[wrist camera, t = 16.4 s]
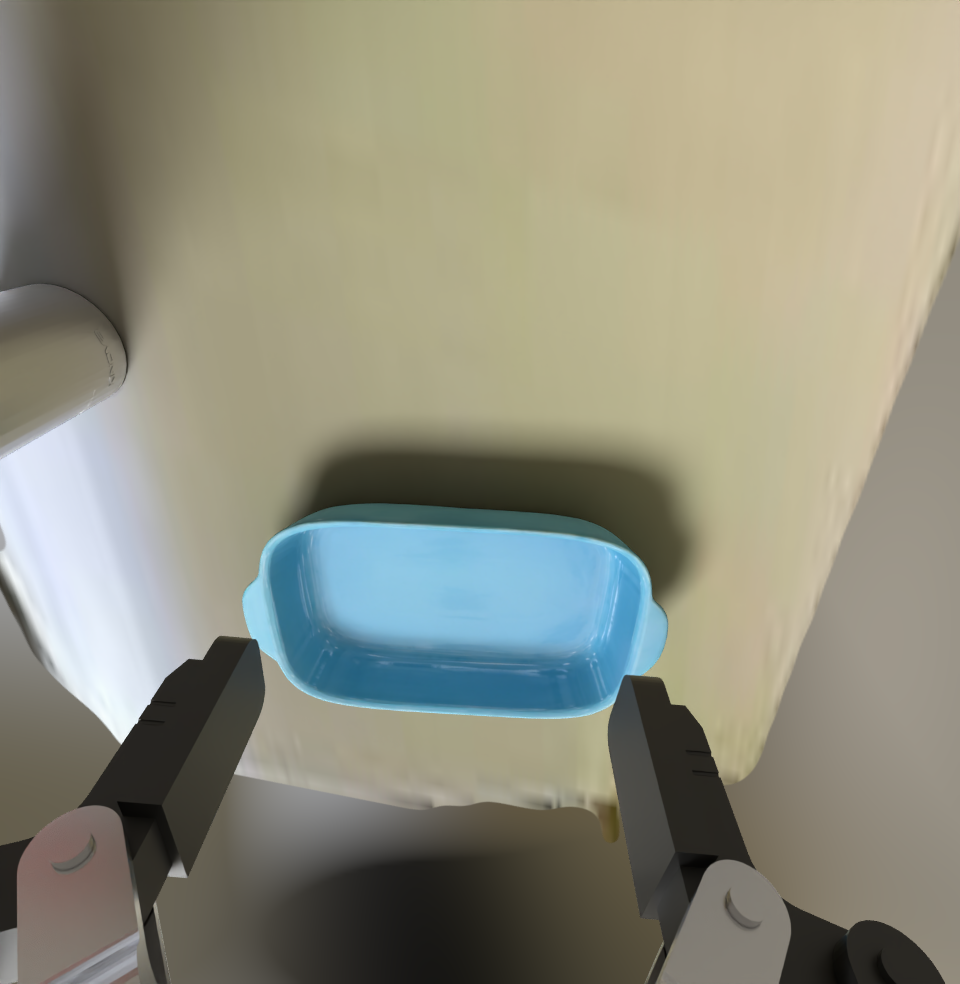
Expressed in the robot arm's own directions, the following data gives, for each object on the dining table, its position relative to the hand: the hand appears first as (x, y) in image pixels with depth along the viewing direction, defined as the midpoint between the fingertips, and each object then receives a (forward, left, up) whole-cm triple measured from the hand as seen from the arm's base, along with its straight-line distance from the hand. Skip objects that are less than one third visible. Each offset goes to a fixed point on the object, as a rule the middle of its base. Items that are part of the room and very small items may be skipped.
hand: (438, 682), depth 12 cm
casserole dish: (0, -25, -34) cm, 42 cm away
